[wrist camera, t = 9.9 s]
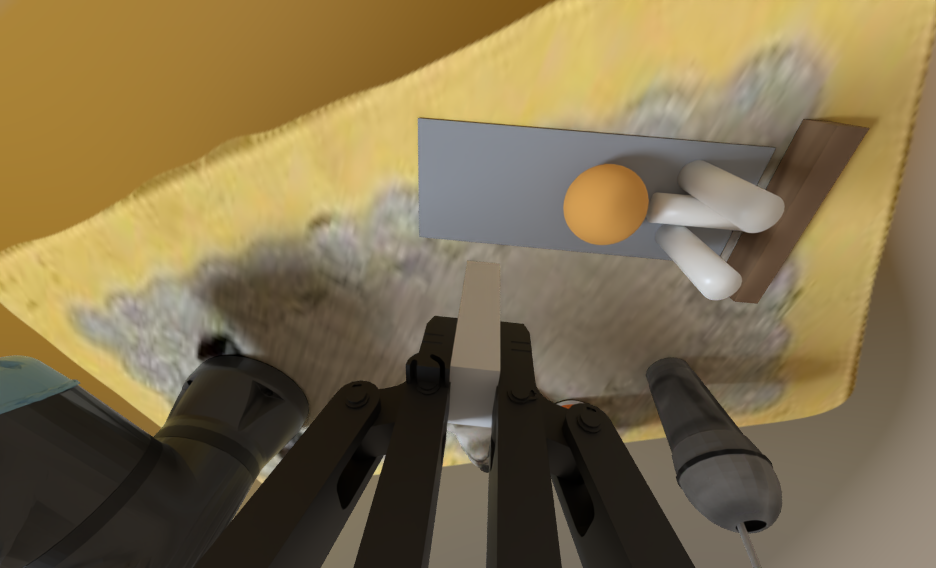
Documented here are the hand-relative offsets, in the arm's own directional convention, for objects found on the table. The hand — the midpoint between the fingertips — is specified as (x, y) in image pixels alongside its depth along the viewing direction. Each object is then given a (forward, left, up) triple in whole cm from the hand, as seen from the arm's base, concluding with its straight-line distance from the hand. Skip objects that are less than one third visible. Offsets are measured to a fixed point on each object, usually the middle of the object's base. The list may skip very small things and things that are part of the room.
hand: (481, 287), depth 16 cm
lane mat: (+7, 0, -15) cm, 17 cm away
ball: (+9, 0, -12) cm, 15 cm away
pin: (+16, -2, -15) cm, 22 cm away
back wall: (+23, 0, -15) cm, 28 cm away
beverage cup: (+22, -19, -16) cm, 33 cm away
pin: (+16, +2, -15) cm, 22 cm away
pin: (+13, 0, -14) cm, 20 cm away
